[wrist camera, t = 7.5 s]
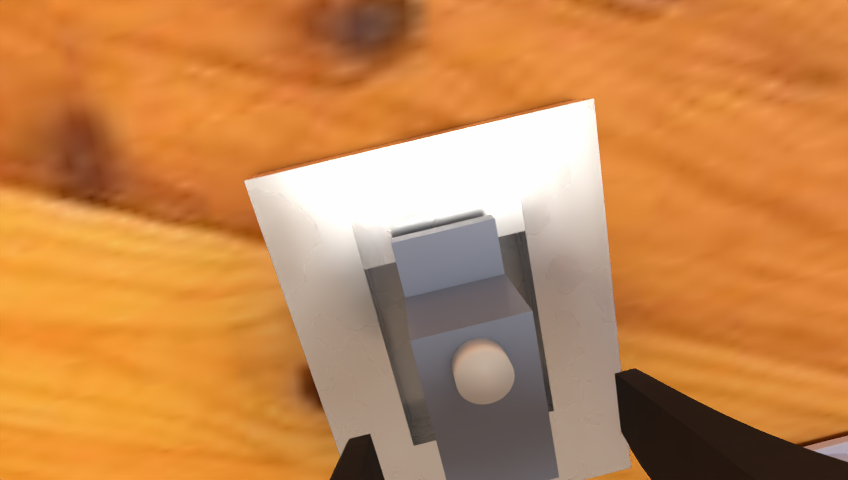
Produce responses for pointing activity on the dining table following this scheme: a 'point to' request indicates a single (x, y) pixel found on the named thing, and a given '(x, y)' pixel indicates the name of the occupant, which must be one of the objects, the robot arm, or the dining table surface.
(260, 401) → the dining table surface
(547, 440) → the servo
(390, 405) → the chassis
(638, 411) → the robot arm
